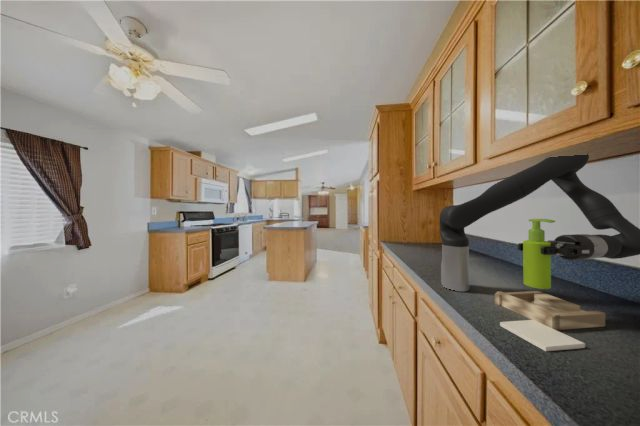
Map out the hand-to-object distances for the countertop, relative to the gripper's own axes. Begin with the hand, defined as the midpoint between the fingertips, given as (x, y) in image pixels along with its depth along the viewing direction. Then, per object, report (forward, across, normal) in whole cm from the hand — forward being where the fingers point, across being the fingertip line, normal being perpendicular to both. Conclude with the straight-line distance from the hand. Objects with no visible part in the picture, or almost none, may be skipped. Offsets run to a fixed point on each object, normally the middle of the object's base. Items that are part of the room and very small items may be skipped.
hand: (530, 248), depth 65 cm
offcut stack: (-9, 0, +20) cm, 22 cm away
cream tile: (+10, +10, +20) cm, 24 cm away
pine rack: (-4, 0, +20) cm, 20 cm away
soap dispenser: (-3, 0, +11) cm, 12 cm away
